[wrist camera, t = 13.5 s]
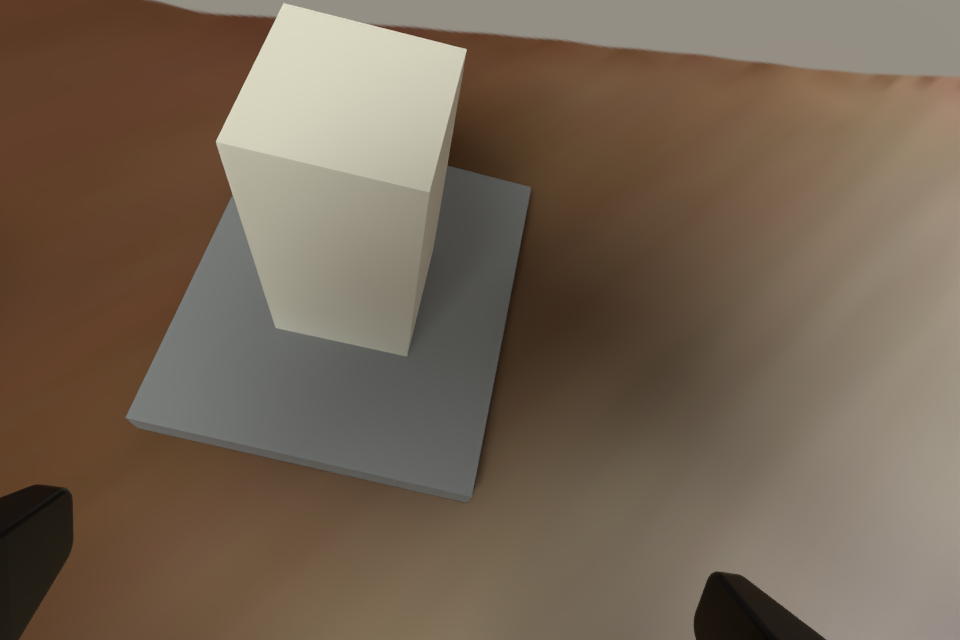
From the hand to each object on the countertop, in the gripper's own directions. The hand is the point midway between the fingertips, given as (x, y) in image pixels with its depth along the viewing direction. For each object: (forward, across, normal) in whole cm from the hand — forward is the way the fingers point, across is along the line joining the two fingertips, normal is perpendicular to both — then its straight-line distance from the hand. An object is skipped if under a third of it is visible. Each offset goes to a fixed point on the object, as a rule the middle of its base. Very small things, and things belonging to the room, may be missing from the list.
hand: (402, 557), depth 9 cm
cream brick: (+16, +3, +1) cm, 17 cm away
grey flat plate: (+17, +3, +2) cm, 18 cm away
